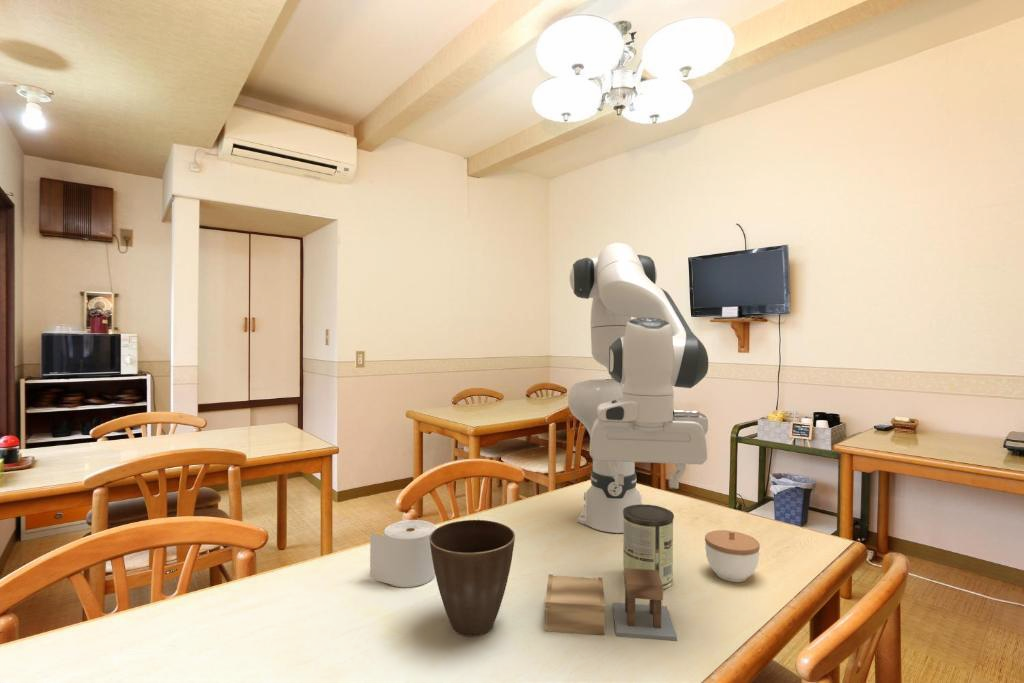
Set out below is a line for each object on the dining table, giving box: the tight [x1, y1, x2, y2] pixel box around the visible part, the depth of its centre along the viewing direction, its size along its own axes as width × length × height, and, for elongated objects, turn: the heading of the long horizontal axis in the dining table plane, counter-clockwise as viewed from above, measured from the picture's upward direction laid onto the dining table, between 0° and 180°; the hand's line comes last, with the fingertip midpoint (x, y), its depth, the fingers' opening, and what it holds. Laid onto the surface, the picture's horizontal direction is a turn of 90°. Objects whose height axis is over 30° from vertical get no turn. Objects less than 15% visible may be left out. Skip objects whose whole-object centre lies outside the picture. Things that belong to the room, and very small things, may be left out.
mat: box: [611, 602, 678, 641], centre depth 94 cm, size 10×10×1 cm
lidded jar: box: [704, 529, 760, 583], centre depth 112 cm, size 11×11×9 cm
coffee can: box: [622, 503, 675, 590], centre depth 110 cm, size 10×10×14 cm
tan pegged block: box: [623, 568, 664, 628], centre depth 94 cm, size 6×6×8 cm
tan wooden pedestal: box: [545, 573, 606, 636], centre depth 95 cm, size 10×10×5 cm
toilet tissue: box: [369, 519, 437, 588], centre depth 110 cm, size 11×12×10 cm
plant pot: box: [429, 519, 516, 637], centre depth 92 cm, size 15×15×16 cm
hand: (646, 486), depth 94 cm, fingers open, 8 cm apart
